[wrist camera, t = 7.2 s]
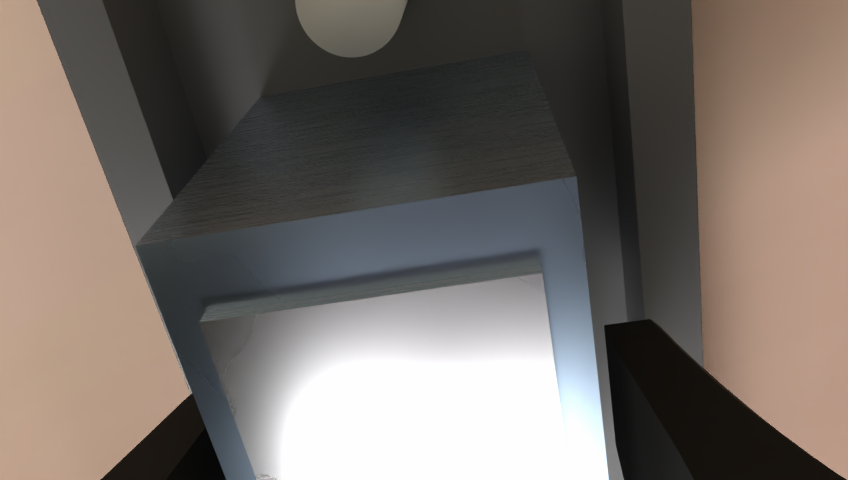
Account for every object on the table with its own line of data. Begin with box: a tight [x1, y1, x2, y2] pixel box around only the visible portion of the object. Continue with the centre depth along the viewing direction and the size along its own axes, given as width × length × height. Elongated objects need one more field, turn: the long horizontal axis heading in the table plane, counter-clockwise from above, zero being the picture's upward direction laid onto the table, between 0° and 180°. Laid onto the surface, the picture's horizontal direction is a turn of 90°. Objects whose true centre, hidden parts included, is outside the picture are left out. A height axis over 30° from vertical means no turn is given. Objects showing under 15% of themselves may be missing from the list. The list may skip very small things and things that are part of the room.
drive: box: [135, 49, 609, 480], centre depth 11 cm, size 8×4×5 cm, turn 11°
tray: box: [37, 0, 703, 480], centre depth 12 cm, size 13×8×3 cm, turn 10°
